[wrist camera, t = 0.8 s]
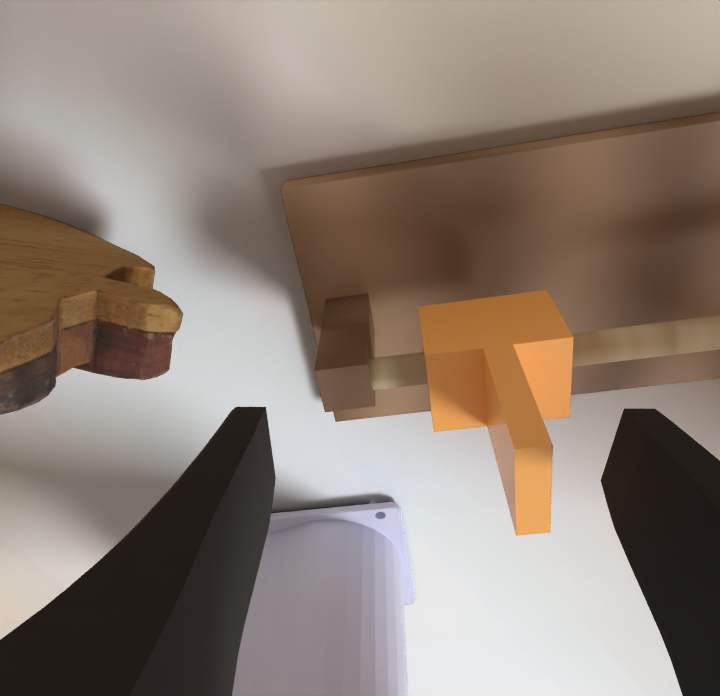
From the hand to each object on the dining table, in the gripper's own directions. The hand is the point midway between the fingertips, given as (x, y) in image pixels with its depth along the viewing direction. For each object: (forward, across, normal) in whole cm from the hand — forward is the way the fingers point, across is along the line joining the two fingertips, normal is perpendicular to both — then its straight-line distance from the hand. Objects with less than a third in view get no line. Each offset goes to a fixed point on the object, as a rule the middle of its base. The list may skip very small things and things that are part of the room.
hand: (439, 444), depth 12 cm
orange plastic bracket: (+7, -2, +2) cm, 8 cm away
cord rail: (+11, -8, +1) cm, 13 cm away
